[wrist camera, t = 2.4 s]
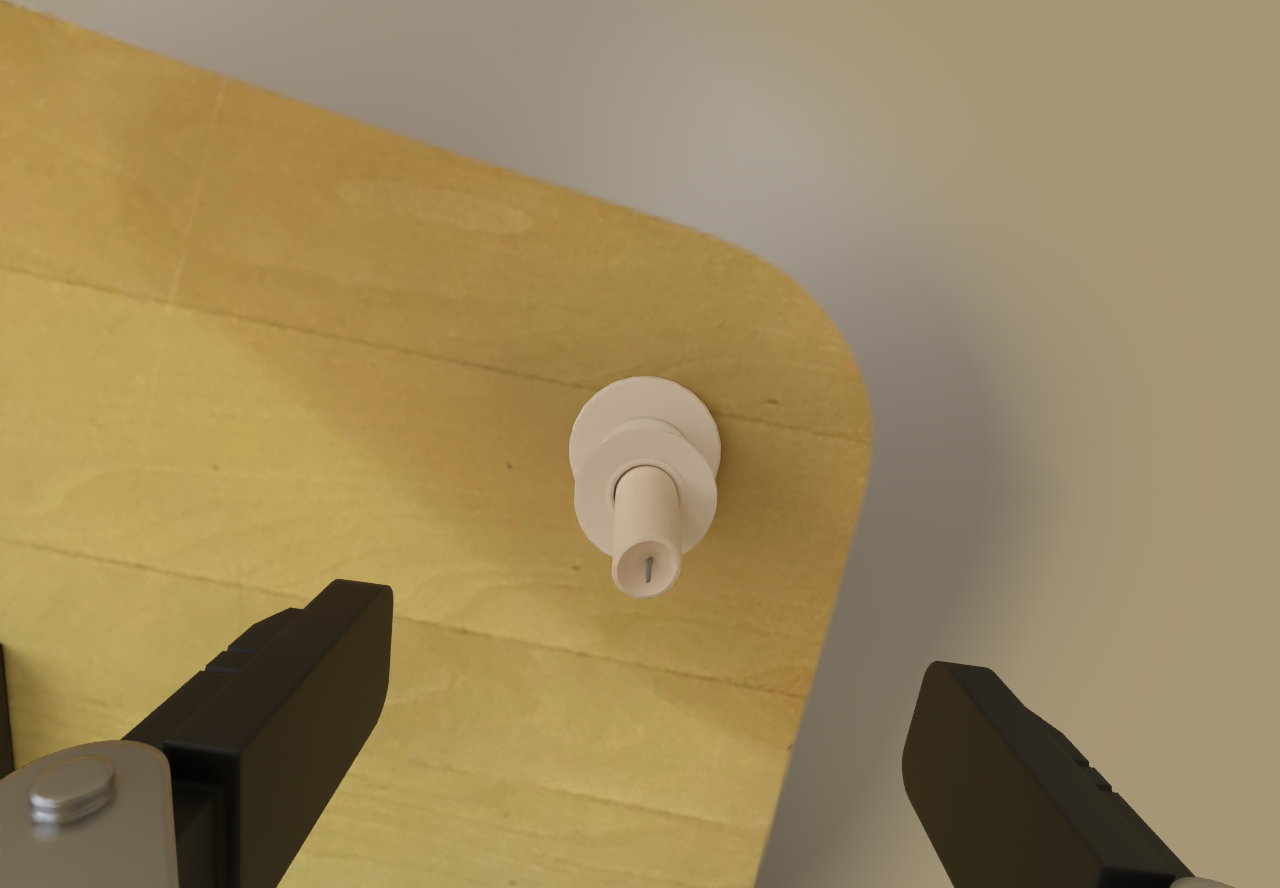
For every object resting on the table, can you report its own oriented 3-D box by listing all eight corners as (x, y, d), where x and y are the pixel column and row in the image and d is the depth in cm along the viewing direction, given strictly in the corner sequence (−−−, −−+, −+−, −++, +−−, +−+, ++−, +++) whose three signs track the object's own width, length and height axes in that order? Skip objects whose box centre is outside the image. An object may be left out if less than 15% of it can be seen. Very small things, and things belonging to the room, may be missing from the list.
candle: (743, 408, 23) (826, 511, 12) (684, 540, 24) (716, 732, 14) (602, 351, 22) (567, 410, 12) (549, 488, 23) (477, 647, 13)
